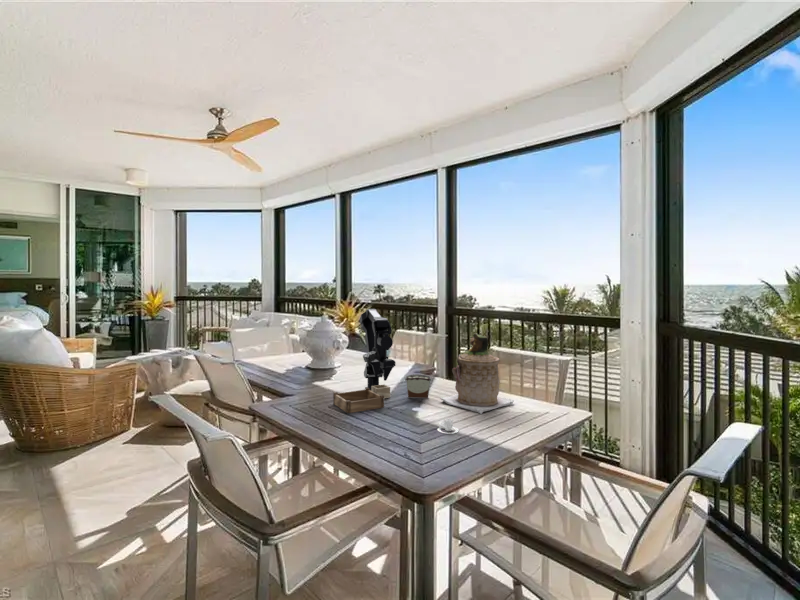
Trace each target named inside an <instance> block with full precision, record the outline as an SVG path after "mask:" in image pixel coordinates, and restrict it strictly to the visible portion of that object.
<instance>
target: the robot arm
mask: <svg viewBox="0 0 800 600" xmlns="http://www.w3.org/2000/svg"><path fill="white" fill-rule="evenodd" d="M359 324H360V325H361V329H362V331H363V332H364V333H365V340H366V350H367V352H366V353H365V354H363V355H362V358H363V362H365V368H364V371H363V376H364V378H365V379H367V386H366V387H365V386H364V389H365V388H369V390H371V386H376V385H380V378H383V381H384V382H385V381H388V380H387V379H388V378H389V377H390V374H391V372H392V370H393V369H394V368H395V367H396V361H395V359H392V358H389V356H388V351H389V349H391V348H392V346H393V339H392V337H390V336H389V335H392V332H393V331H392V326H391V323H390V321H389V320H388V318H386V317H383V316H382V315H380V314H379V312H378V309H376V308H367V309H366V311H365V312H363V313H361V314H360V317H359Z"/></svg>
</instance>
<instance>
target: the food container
mask: <svg viewBox="0 0 800 600" xmlns="http://www.w3.org/2000/svg"><path fill="white" fill-rule="evenodd" d="M404 381H405V382H406V390H407V392H406V393H407V398H408V399H429V393H430V386H431V385H430V384H431V382H432V378H431V376H430V375H427V374H421V373H420V374H419V373H417V374H416V373H415V374H408V375H406V377H405V379H404Z"/></svg>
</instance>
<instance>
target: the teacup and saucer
mask: <svg viewBox="0 0 800 600" xmlns="http://www.w3.org/2000/svg"><path fill="white" fill-rule="evenodd" d="M453 424H454V421H453V419H452V418H451V419H450V418H445V419H444V420H443V421H441V422H439V423H438V424H437V425H438V428H437V432H439V433H442V434H447V435H452V434H457V433H458V432H460V429H459V428H457V427H456V426H453ZM441 429H444V430H445V431H442V430H441ZM453 429H454V430H455V431H452V430H453ZM451 431H452V432H451Z"/></svg>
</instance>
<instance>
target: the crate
mask: <svg viewBox="0 0 800 600" xmlns="http://www.w3.org/2000/svg"><path fill="white" fill-rule="evenodd" d="M333 405H335V406H336V407H338V408H340V409H341V410H342V411H344V412H345V413H347V414H351V413H357V412H358V413H359V412H363V411H371V410H377V409H383V408H385V398H384V396H383V395H381V396H380V395H378V394H377V393H375V392H373V391H371V390H369V388H365V387H364V389H359V390H353V391H352V390H351V391H345V392H336V391H334V392H333Z"/></svg>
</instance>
